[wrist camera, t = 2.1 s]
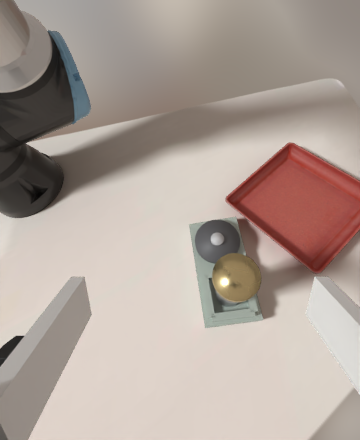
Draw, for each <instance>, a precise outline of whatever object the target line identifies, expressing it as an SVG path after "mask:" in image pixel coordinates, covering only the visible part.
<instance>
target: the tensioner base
mask: <svg viewBox="0 0 360 440" xmlns="http://www.w3.org/2000/svg"><path fill="white" fill-rule="evenodd" d="M189 227H190V233H191V240H192V246H193V253H194V259H195V266H196V272H197V278H198V285H199V291H200V298H201V304H202V311H203V317H204V323H205V328H209V327H216V326H224V325H231V324H238V323H245V322H253V321H260V320H263V317H262V313H261V309H260V305H259V301H258V298H257V294H255V295H254V296H253V297H251V298H250V299H249V300H247V301H244V302H238V303H237V304H236V305H235V306H232V307H225V306H223V305H221V304H220V303H219V302H218V301H217V299H216V296H215V288H214V285H213V281H212V272H213V268H214V265H215V264H216V262H217V261H218V260H219V259H220V258H221V257H223V256H224V255H227V254H231V253H239V254H243V255H245V256H246V252H245V249H244V245H243V241H242V237H241V234H240V230H239V226H238V222H237V218H236V217H231V218H225V219H219V220H211V221H207V222H201V223H195V224H189Z"/></svg>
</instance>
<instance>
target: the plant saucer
mask: <svg viewBox="0 0 360 440" xmlns="http://www.w3.org/2000/svg"><path fill="white" fill-rule="evenodd" d="M225 200H226V202H227V203H228V204H229V205H230V206H231V207H233V208H234V209H235V210H236V211H238V212H239V213H240V214H241V215H243V216H244V217H245V218H246V219H247V220H249V221H250V222H251V223H252V224H254V225H255V226H256V227H257V228H259V229H260V230H261V231H262V232H264V233H265V234H266V235H267V236H269V237H270V238H271V239H272V240H273V241H275V242H276V243H277V244H278V245H280V246H281V247H282V248H283V249H284V250H286V251H287V252H288V253H289V254H291V255H292V256H293V257H294V258H296V259H297V260H298V261H299V262H300V263H302V264H303V265H304V266H305V267H306V268H308V269H309V270H310V271H311V272H313V273H315V274H319V273H321V272H322V271H323V270H324V269H325V267H326V266H327V265H328V264H329V263H330V262H331V261H332V260H333V259H334V258H335V256H336V255H337V254H338V253H339V252H340V251H341V250H342V249H343V248H344V247H345V246H346V244H348V242H349V241H350V240H351V239H352V238H353V237H354V236H355V234H356V233H357V232H358V231H359V230H360V181H359V180H358V179H356V178H354V177H352V176H351V175H349V174H347V173H345V172H344V171H342V170H340V169H338V168H337V167H335V166H333V165H331V164H329V163H328V162H326V161H324V160H323V159H321V158H319V157H317V156H315V155H314V154H312V153H310V152H309V151H307V150H305V149H303V148H302V147H300V146H298V145H296V144H294V143H287V144H286V145H285V146H284V147H283V148H282V149H280V150H279V151H278V152H277V153H276V154H275V155H273V156H272V157H271V158H270V159H269V160H268V161H267V162H266V163H265V164H263V165H262V166H261V167H260V168H259V169H258V170H257V171H255V172H254V173H253V174H252V175H251V176H250V177H248V178H247V179H246V180H245V181H244V182H243V183H242V184H240V185H239V186H238V187H237V188H236V189H235V190H234V191H232V192H231V193H230V194H229V195H228V196H227V197H226V199H225Z"/></svg>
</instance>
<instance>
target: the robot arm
mask: <svg viewBox="0 0 360 440" xmlns="http://www.w3.org/2000/svg"><path fill="white" fill-rule="evenodd" d="M90 109H91V105H90V100H89V97H88V94H87V92H86V89H85V86H84V84H83V81H82V79H81V77H80V76H79V72H78V70H77V67H76V64H75V62H74V60H73V57H72V55H71V53H70V51H69V49H68V47H67V45H66V43H65V41H64V39H63V37H62V36H61V35H60V33H59V32H57V31H47V30H46V29H45V27H44V26H43V25H42V24H41V22H39V20H38V19H36V18H35V17H34V16H32V15H30V14H28V13H26V12H24V11H21V10H20V9H19V8H18V6H17V5H16V3H15V1H14V0H0V213H2V214H4V215H6V216H9V217H13V218H21V217H26V216H30V215H32V214H35V213H37V212H39V211H40V210H42V209H43V208H45V207H46V206H47V205H49V204H50V203H51V202H52V201H53V200H54V198H55V197H56V196H57V194H58V193H59V191H60V189H61V186H62V183H63V172H62V170H61V168H60V166H59V165H58V164H57V163H56V162H55V161H54V160H53V159H52V158H51V157H49V156H48V155H46V154H43V153H40V152H39V151H38V150H36V149H34V148H33V147H31V146H29V145H27V144H26V143H27V142H29V141H32V140H34V139H37V138H39V137H42V136H44V135H46V134H49V133H51V132H54V131H56V130H58V129H61V128H63V127H66V126H68V125H71V124H74V123H76V121H78V120H80V119H81V118H83V117H85V116H87V115H88V114H89V113H90ZM91 315H92V314H91V309H90V304H89V298H88V293H87V288H86V283H85V277H71V278H70V279H69V280H68V282H67V283H66V284H65V285H64V287H63V288H62V289H61V290H60V292H59V293H58V294H57V296H56V297H55V298H54V299H53V301H52V302H51V303H50V304H49V306H48V307H47V308H46V309H45V311H44V312H43V313H42V315H41V316H40V317H39V318H38V320H37V321H36V322H35V323H34V325H33V326H32V327H31V329H30V330H29V331H28V332H27V334H26V335H25V336H15V337H14V338H13V339H11V340H10V341H9V342H7V343H6V344H5V345H3V346H2V347H1V349H0V440H28V438H29V436H30V434H31V432H32V430H33V428H34V427H35V425H36V423H37V421H38V419H39V417H40V415H41V413H42V411H43V409H44V407H45V405H46V403H47V401H48V399H49V397H50V395H51V393H52V391H53V389H54V387H55V385H56V383H57V381H58V379H59V377H60V376H61V374H62V372H63V370H64V368H65V366H66V364H67V362H68V360H69V358H70V356H71V354H72V352H73V350H74V348H75V346H76V344H77V342H78V340H79V338H80V336H81V334H82V332H83V330H84V328H85V326H86V324H87V323H88V321H89V319H90V317H91ZM306 316H307V318H308V319H309V321H310V322H311V324H312V325H313V327H314V328H315V330H316V331H317V333H318V334H319V336H320V337H321V338H322V340H323V341H324V343H325V344H326V346H327V347H328V349H329V350H330V352H331V353H332V355H333V356H334V358H335V359H336V361H337V362H338V364H339V365H340V366H341V368H342V369H343V371H344V372H345V374H346V375H347V377H348V378H349V380H350V381H351V383H352V384H353V386H354V387H355V389H356V390H357V391H358V393H359V394H360V307H359V306H358V305H357V304H356V303H355V302H354V301H353V300H352V299H351V298H350V297H349V296H348V295H347V294H346V293H345V292H343V291H342V290H341V289H340V288H339V287H338V286H337V285H336V284H335V283H334V282H333V281H332V280H331V279H330V278H329V277H314V282H313V286H312V290H311V294H310V298H309V302H308V307H307V311H306Z"/></svg>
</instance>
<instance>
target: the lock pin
mask: <svg viewBox="0 0 360 440" xmlns="http://www.w3.org/2000/svg"><path fill="white" fill-rule="evenodd" d="M212 281H213V285H214V288H215V296H216V299H217V301H218V302H219V303H220V304H221V305H223V306H225V307H232V306H235V305H236V304H237V303H238V302H244V301H247V300H249V299H250V298H251V297H253V296H254V295H255V294H256V293H257V291H258V290H259V287H260V284H261V274H260V271H259V268H258V266H257V265H256V263H255V262H254V261H253V260H252V259H250V258H249V257H247V256H245V255H243V254H239V253H231V254H227V255H224V256H223V257H221V258H220V259H219V260H218V261H217V262H216V264H215V265H214V268H213V272H212Z"/></svg>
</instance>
